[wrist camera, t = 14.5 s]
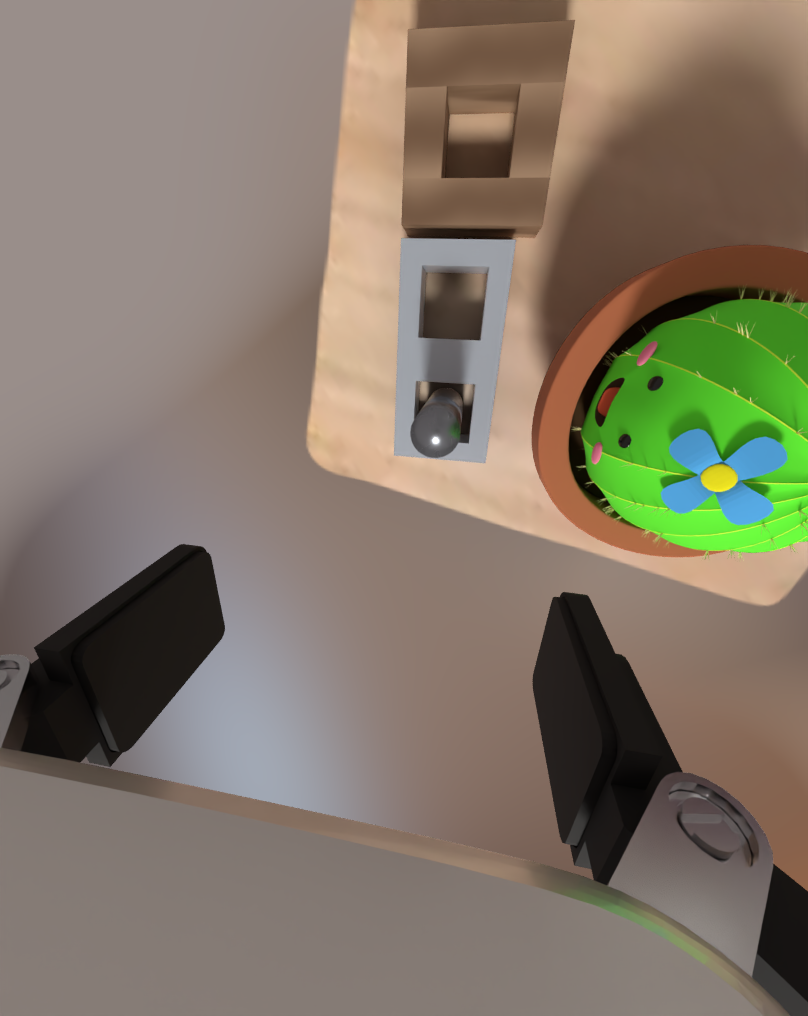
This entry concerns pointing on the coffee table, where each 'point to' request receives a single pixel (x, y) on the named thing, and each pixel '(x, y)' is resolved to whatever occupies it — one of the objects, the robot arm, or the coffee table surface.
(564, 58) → the socket block
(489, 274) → the peg rack
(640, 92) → the coffee table surface
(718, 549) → the potted cactus
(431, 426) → the metal peg
